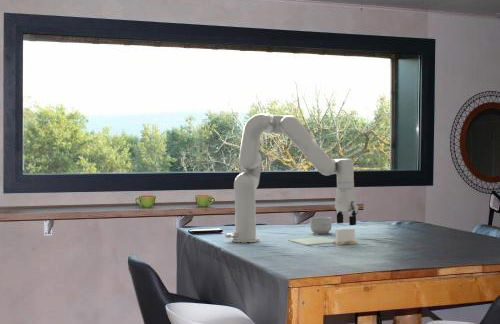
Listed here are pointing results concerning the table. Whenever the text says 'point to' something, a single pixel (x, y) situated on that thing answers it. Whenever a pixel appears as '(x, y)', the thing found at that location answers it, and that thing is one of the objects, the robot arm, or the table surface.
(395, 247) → the table surface
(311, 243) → the mat
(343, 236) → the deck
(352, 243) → the holder
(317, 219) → the teacup
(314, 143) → the robot arm
